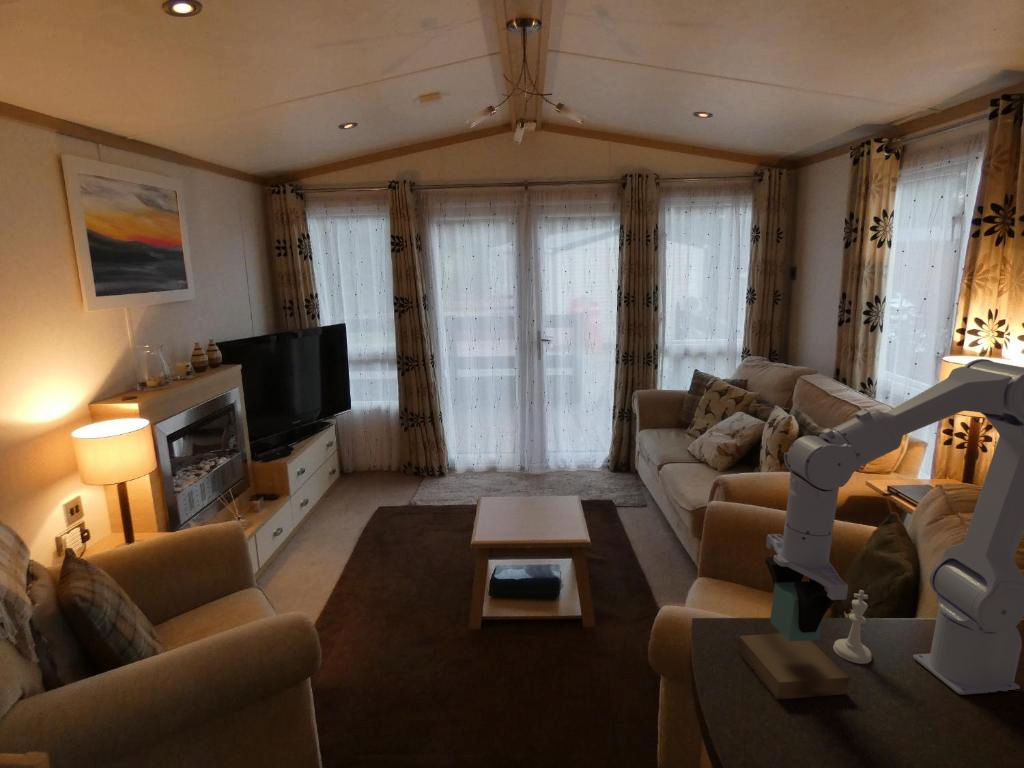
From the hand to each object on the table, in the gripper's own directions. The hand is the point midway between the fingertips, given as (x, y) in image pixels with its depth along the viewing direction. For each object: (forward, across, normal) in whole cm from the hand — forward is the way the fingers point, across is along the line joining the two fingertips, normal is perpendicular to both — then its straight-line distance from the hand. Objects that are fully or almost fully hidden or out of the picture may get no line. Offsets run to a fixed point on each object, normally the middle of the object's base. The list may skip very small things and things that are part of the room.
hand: (796, 619), depth 81 cm
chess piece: (+8, -3, +12) cm, 15 cm away
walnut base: (+8, 0, 0) cm, 8 cm away
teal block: (+2, 0, 0) cm, 2 cm away
